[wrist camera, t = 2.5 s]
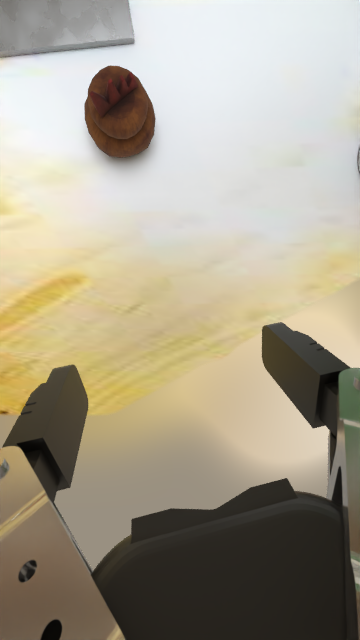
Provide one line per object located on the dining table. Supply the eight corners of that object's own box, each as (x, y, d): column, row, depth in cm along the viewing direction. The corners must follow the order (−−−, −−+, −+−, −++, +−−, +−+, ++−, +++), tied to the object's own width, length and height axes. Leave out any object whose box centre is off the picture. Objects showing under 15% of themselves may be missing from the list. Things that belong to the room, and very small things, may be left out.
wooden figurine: (103, 166, 31) (79, 138, 18) (85, 108, 28) (42, 23, 15) (156, 154, 31) (173, 118, 18) (144, 95, 29) (152, 1, 15)
